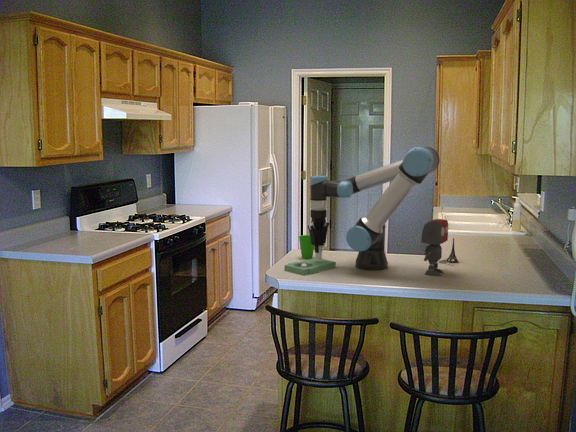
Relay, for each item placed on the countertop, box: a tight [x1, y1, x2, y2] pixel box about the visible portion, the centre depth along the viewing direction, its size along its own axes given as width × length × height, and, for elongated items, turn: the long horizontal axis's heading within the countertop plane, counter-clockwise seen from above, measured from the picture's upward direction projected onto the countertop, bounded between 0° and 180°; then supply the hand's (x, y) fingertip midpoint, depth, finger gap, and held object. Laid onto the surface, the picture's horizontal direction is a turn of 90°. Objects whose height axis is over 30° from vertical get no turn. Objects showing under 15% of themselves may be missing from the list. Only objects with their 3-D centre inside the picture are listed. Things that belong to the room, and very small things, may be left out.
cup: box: [298, 234, 315, 260], centre depth 283 cm, size 9×9×11 cm
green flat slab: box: [284, 257, 337, 276], centre depth 262 cm, size 22×14×2 cm, turn 135°
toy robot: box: [420, 207, 449, 277], centre depth 253 cm, size 22×9×30 cm, turn 148°
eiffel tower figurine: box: [438, 237, 460, 266], centre depth 277 cm, size 15×10×13 cm
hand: (318, 259), depth 265 cm, fingers closed
